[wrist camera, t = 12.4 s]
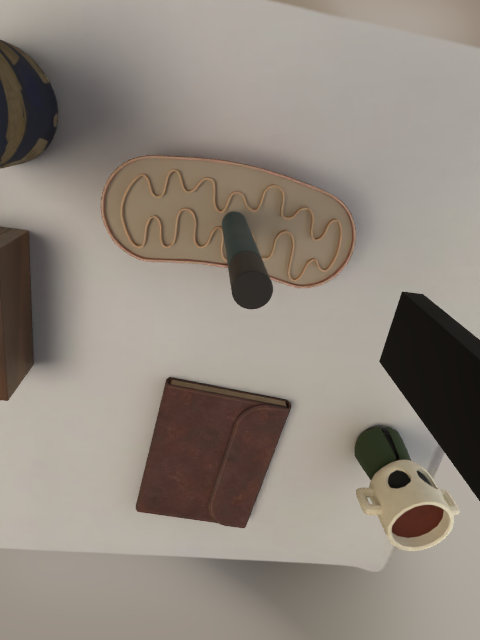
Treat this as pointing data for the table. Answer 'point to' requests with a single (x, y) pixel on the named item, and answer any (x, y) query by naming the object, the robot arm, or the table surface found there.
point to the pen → (245, 263)
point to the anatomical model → (214, 203)
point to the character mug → (402, 493)
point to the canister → (24, 107)
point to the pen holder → (14, 310)
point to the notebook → (210, 452)
